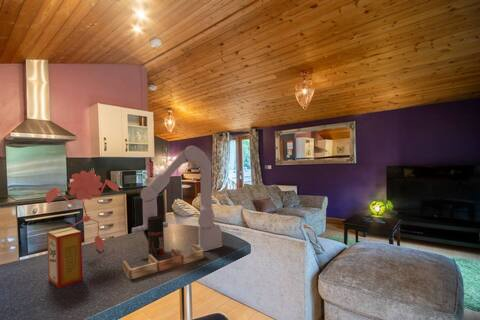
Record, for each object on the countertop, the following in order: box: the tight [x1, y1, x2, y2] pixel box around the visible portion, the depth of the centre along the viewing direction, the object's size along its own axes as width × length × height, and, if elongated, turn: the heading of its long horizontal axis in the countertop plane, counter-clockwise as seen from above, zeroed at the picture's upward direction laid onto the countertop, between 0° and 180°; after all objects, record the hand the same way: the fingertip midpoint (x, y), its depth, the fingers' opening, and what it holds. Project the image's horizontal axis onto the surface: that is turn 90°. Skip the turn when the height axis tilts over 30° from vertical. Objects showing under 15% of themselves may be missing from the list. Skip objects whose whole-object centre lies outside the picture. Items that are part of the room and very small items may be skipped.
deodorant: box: [147, 215, 165, 259], centre depth 100 cm, size 6×6×15 cm
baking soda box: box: [46, 227, 84, 289], centre depth 80 cm, size 10×6×16 cm
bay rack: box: [122, 243, 206, 281], centre depth 91 cm, size 27×10×3 cm, turn 126°
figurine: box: [45, 169, 120, 263], centre depth 101 cm, size 15×26×35 cm, turn 136°
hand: (151, 246), depth 105 cm, fingers closed
